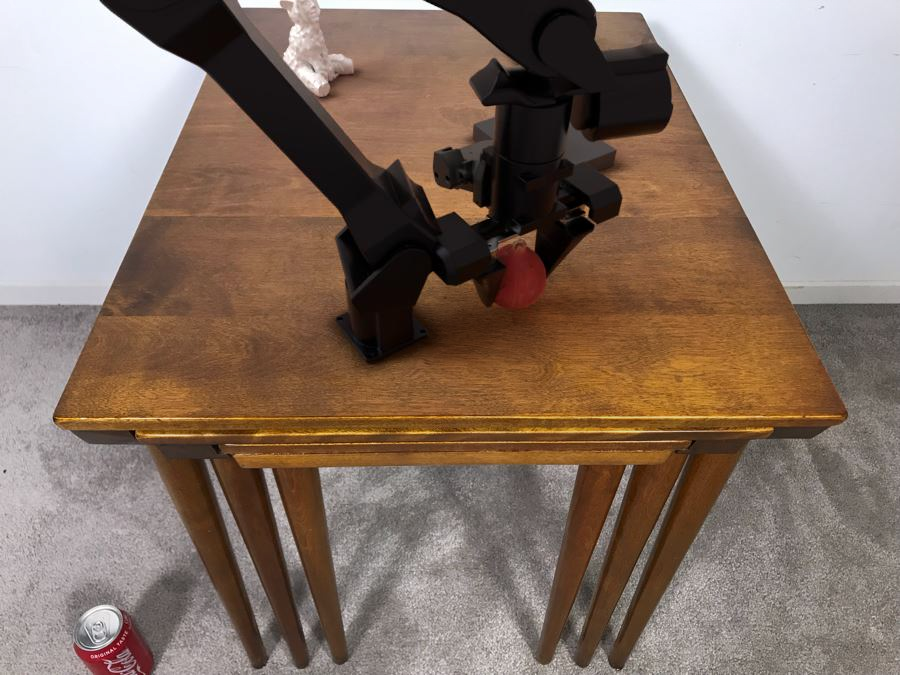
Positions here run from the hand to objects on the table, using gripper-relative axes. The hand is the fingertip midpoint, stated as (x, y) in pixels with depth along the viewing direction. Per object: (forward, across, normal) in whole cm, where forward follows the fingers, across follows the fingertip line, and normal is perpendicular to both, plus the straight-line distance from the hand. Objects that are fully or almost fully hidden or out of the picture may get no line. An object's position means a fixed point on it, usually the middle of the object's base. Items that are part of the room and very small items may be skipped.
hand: (512, 292), depth 67 cm
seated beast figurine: (+2, -5, -52) cm, 52 cm away
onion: (+2, 0, 0) cm, 2 cm away
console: (+2, -20, -20) cm, 28 cm away
